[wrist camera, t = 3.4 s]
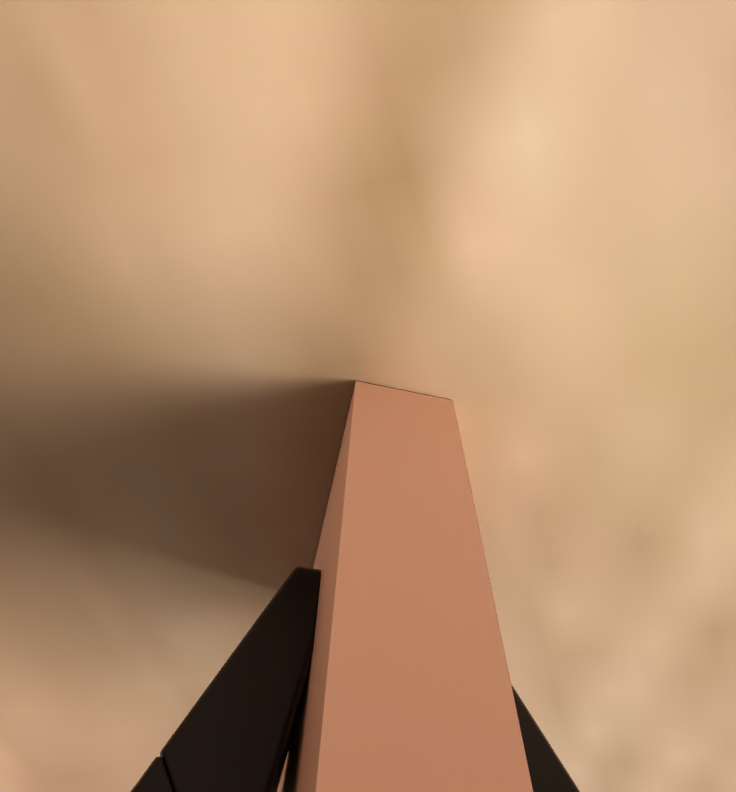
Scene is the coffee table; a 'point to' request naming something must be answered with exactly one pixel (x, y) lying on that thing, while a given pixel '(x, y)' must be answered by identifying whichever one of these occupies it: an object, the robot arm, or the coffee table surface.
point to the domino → (404, 619)
